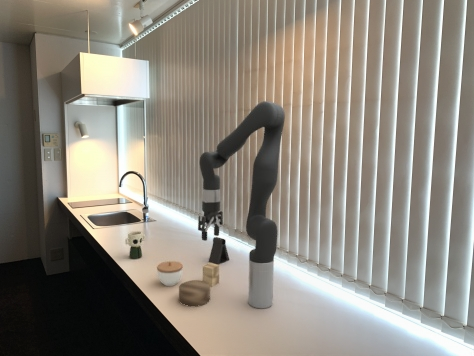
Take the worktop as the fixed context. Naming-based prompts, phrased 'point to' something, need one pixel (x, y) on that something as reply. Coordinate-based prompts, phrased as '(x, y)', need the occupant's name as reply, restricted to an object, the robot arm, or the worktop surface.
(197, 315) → the worktop surface
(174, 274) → the lidded jar
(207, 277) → the oak block
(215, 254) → the phone stand
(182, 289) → the walnut plinth
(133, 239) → the character mug
